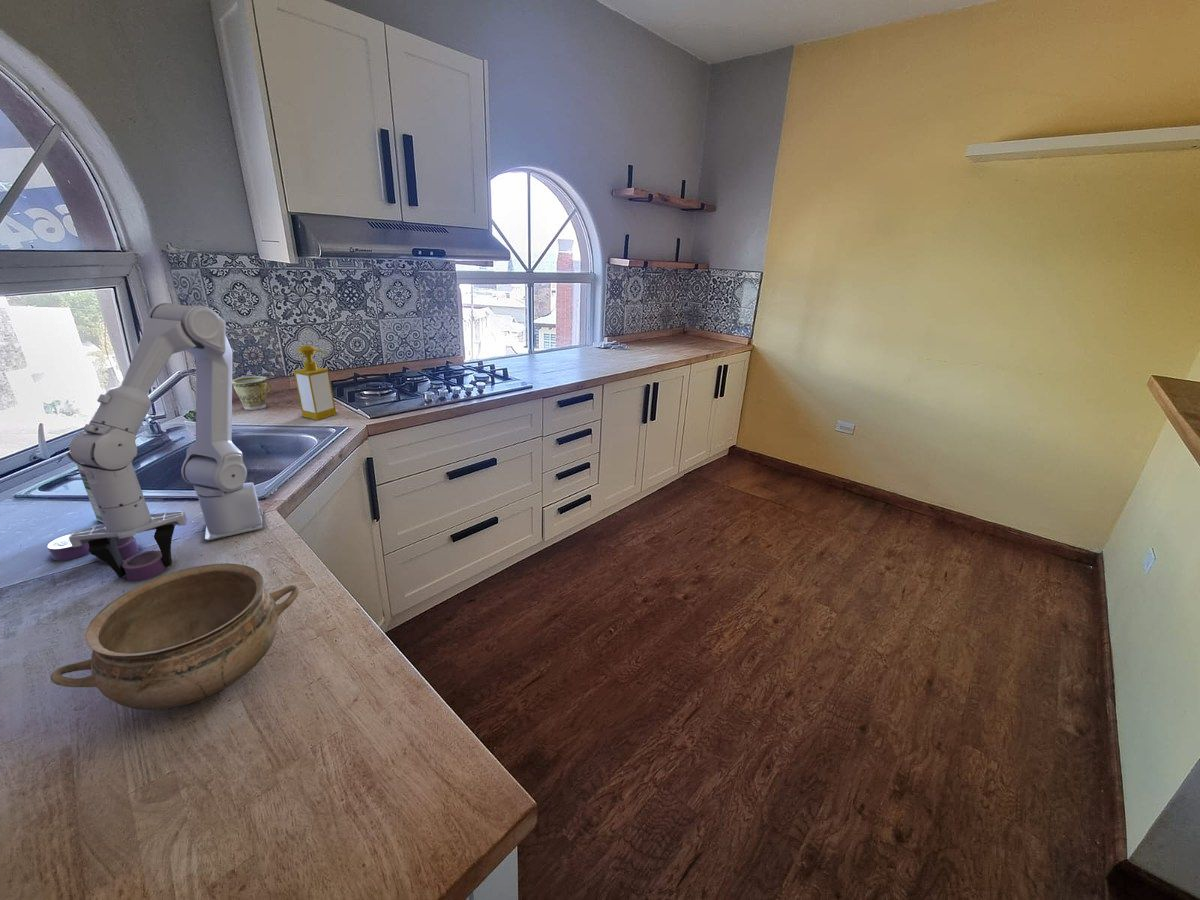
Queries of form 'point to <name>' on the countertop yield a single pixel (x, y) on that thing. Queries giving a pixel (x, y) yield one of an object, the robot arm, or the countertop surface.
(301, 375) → the soap bottle
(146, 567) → the dish middle
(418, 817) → the countertop surface
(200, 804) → the countertop surface
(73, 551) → the dish top
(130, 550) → the dish bottom
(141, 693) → the cooking pot
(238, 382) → the ceramic cup
